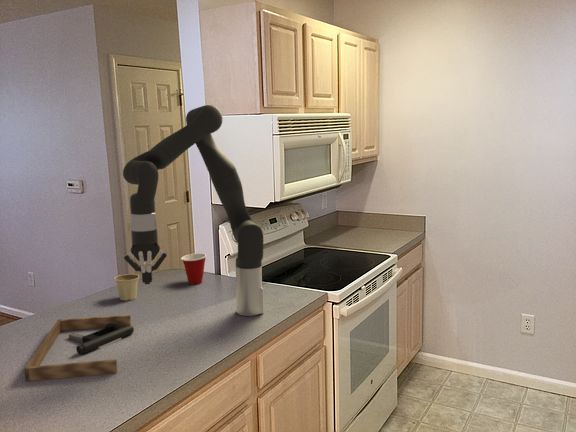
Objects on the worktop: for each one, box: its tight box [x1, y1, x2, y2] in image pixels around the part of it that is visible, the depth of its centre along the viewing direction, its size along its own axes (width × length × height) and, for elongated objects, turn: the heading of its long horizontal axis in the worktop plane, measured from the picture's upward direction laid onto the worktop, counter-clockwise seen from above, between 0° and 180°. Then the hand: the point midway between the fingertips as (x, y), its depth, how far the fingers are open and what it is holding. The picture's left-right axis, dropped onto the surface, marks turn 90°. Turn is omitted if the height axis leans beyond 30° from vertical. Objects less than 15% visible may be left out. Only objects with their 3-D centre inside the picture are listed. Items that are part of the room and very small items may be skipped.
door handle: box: [68, 323, 135, 355], centre depth 161 cm, size 3×20×16 cm
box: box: [24, 314, 132, 382], centre depth 154 cm, size 23×36×4 cm, turn 11°
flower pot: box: [114, 273, 140, 301], centre depth 200 cm, size 9×9×9 cm
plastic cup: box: [181, 252, 207, 285], centre depth 220 cm, size 11×11×12 cm
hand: (147, 283), depth 155 cm, fingers closed
